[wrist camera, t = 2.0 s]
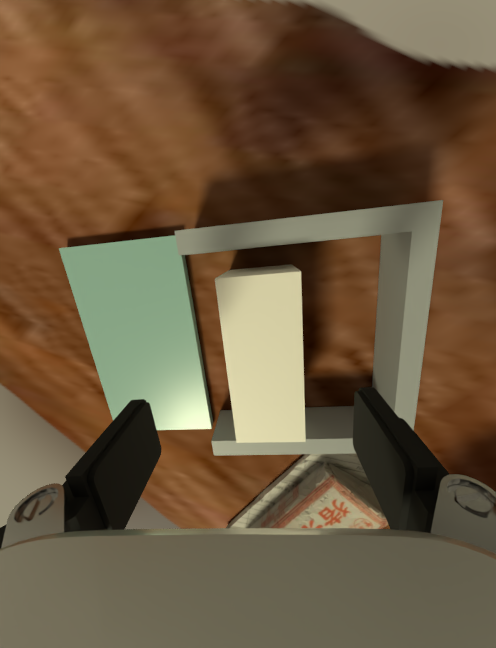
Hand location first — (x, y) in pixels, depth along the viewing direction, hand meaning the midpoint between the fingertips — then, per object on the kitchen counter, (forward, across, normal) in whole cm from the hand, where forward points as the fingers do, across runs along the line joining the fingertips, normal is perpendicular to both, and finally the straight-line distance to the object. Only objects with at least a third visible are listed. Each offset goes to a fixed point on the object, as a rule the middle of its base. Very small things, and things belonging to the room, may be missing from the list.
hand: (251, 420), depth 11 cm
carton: (+11, -1, 0) cm, 11 cm away
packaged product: (+11, -4, +20) cm, 24 cm away
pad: (+11, +10, 0) cm, 15 cm away
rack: (+11, -4, 0) cm, 11 cm away
